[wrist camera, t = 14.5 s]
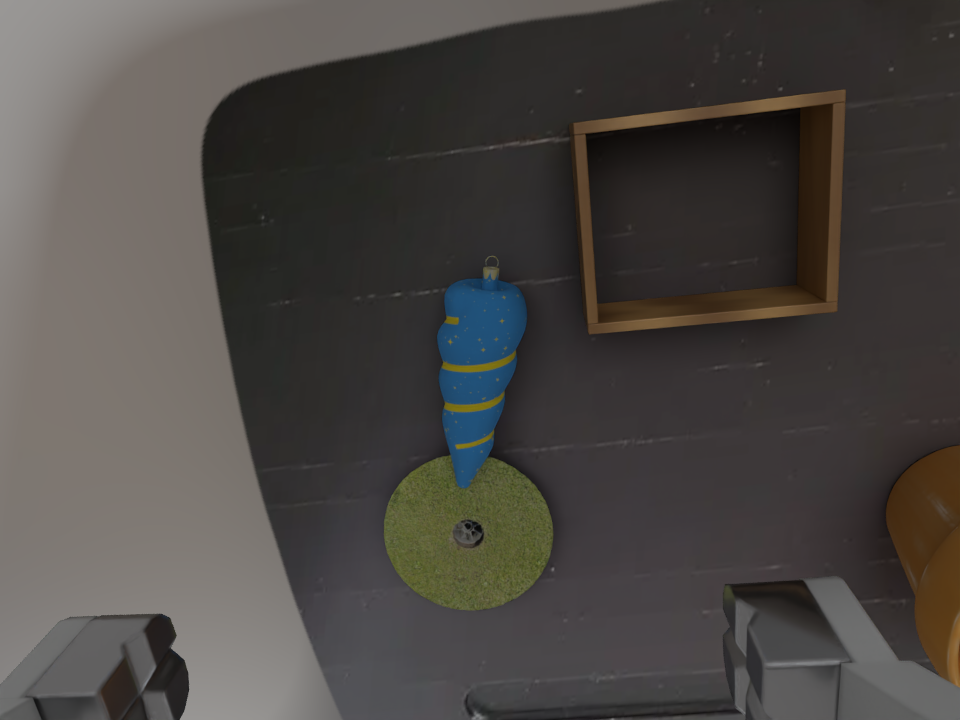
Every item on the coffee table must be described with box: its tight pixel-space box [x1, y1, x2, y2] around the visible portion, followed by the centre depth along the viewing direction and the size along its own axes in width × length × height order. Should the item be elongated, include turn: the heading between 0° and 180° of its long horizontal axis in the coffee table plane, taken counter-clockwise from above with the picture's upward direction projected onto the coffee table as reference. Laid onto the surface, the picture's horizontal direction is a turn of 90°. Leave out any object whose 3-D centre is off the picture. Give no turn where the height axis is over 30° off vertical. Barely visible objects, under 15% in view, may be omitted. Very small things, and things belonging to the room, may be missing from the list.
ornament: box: [437, 256, 527, 488], centre depth 42 cm, size 5×5×15 cm
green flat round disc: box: [384, 455, 553, 610], centre depth 47 cm, size 11×11×2 cm
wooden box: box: [569, 89, 846, 334], centre depth 38 cm, size 13×11×4 cm
